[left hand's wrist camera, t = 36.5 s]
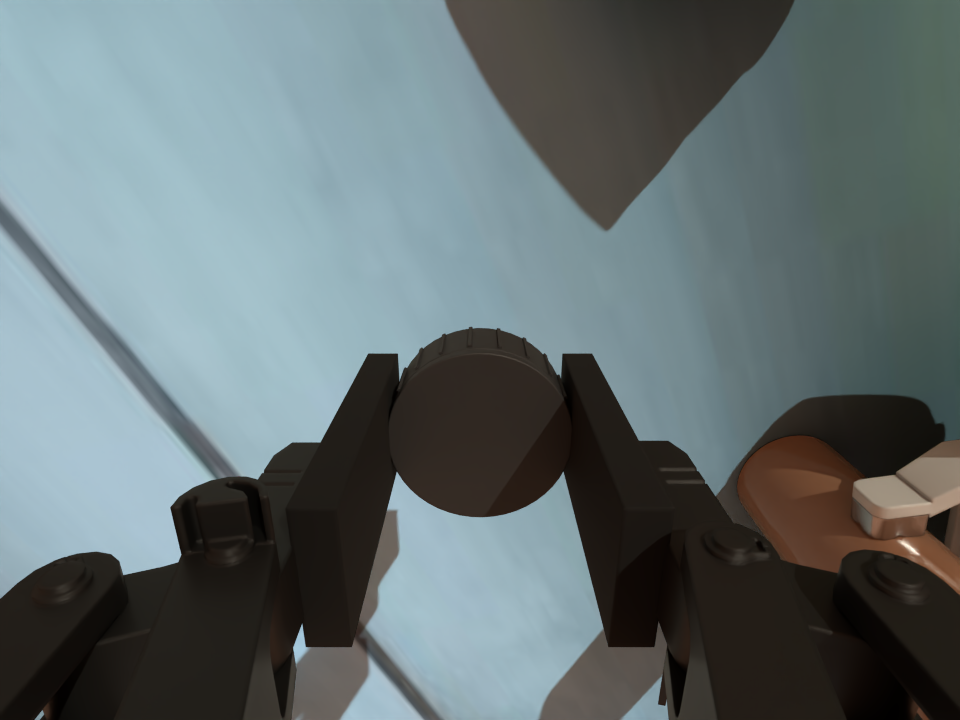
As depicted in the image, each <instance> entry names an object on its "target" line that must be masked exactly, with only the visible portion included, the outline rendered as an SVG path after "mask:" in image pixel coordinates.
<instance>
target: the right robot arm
mask: <svg viewBox="0 0 960 720" xmlns="http://www.w3.org/2000/svg"><path fill="white" fill-rule="evenodd" d="M949 508H950V514H949V519H948V524H947V530H946V535H945V540H944V545H945V546H946V547H947V548H949V549H950V550H951V551H952V552H953V553H954V554H956V555H957V556H958V557H959V558H960V439H959V440H952V441H945V442H941V443H940V444H938V445H937V446H935V447H934V448H932V449H931V450H929V451H927V452H926V453H924V454H923V455H921V456H920V457H918V458H917V459H915V460H914V461H912V462H911V463H909V464H908V465H906V466H905V467H903V468H901V469H900V470H898V471H897V472H896V475H890V476H882V477H875V478H867V479H860V480H857V481H855V482H854V484H853V492H852V505H851V515H850V517H851V518H852V519H853V520H854V521H855V522H856V523H860V525H861V527H862V529H863V530H864V531H865V532H866V533H867V534H868V535H869V536H871V537H873V538H875V539H880V540H890V539H895V538H897V537H898V536H900V535H901V536H903V537H917V536H924V535H925V531H926V526H927V521H928V517H932V516H934V515H936V514H938V513H941V512H943V511H945V510H947V509H949Z"/></svg>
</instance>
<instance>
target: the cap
mask: <svg viewBox="0 0 960 720" xmlns="http://www.w3.org/2000/svg"><path fill="white" fill-rule="evenodd" d="M397 391H398V392H397V395H396V398H395V401H394V404H393V407H392V410H391V414H390V417H389V421H388V426H389V442H390V456H391V459H392V462H393V464H394V466H395V468H396V470H397V472H398V474H399V475H400V477H401V478H402V480H403V481H404V482H405V484H406V485H407V486H408V487H409V488H410V489H411V490H412V491H413V492H414V493H415V494H416V495H418V496H419V497H420V498H421V499H423V500H424V501H426V502H427V503H429V504H431V505H433V506H435V507H437V508H439V509H441V510H444V511H447V512H449V513H453V514H457V515H462V516H469V517H491V516H498V515H503V514H507V513H511V512H514V511H517V510H519V509H521V508H524V507H526V506H528V505H529V504H531V503H533V502H535V501H536V500H538V499H539V498H540V497H542V496H543V495H544V494H545V493H546V492H547V491H548V490H549V489H550V488H551V487H553V485H554V484H555V483H556V482H557V480H558V479H559V478H560V476H561V474H562V473H563V471H564V469H565V467H566V465H567V463H568V460H569V458H570V448H571V433H572V420H571V415H570V412H569V409H568V406H567V403H566V400H565V399H568V398H567V395H566V392H565V389H564V386H563V384H562V381H561V378H560V375H557V374H556V372H555V371H554V369H553V367H552V365H551V364H550V363H549V361H548V358H547V355H546V354H545V353H544V354H542V353H541V352H540V351H539V350H538V349H537V348H535V347H534V346H533V345H532V344H530V343H529V342H527V341H526V338H524V337H523V338H520V337H518V336H515V335H513V334H511V333H507V332H504V331H501V330H500V329H499V328H497V330H495V329H486V328H474V329H472V327H469V329H465V330H460V331H456V332H453V333H450V334H447V335H446V334H443V335H442V337H441V338H439V339H437V340H435V341H433V342H432V343H430V344H429V345H427V346H426V347H425V348H424V349H423V348H421V349H420V350H419V353H418V354H417V355H416V357H415V358H414V359H413V360H412V361H411V363H410V364H409V366H408V368H406V367H405V368H404V370H403V373H402V376H401V379H400V382H399V385H398V388H397Z"/></svg>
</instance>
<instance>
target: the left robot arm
mask: <svg viewBox="0 0 960 720" xmlns="http://www.w3.org/2000/svg"><path fill="white" fill-rule="evenodd" d="M561 381H562V384H563V386H564V389H565V392H566V395H567V398H568V399H565V400H566V403H567V406H568V409H569V412H570V415H571V420H572V433H571V448H570V458H569V460H568V463H567V465H566V467H565V469H564V475H565V479H566V483H567V487H568V490H569V494H570V498H571V502H572V506H573V510H574V514H575V518H576V522H577V526H578V530H579V534H580V537H581V541H582V545H583V549H584V553H585V557H586V561H587V565H588V569H589V573H590V577H591V580H592V584H593V588H594V592H595V596H596V600H597V604H598V608H599V612H600V616H601V620H602V624H603V627H604V631H605V635H606V639H607V643H608V647H655V640H656V633H657V627H658V621H659V624H660V626H661V629H662V632H663V634H664V637H665V640H666V642H667V651H666V657H665V663H664V669H663V676H662V682H661V688H660V695H659V701H658V704H659V705H664V706H665V705H666V699H667V707H668V717H669V720H923V719H922V718H921V717H920V716H919V714H918V713H917V711H918V708H920V709H921V710H922V711H923V712H924V714H925V715H926V716H927V717H928V719H929V720H960V595H959V594H958V593H957V592H956V591H955V590H954V589H952V588H951V587H950V586H949V585H948V584H947V583H946V582H945V581H943V580H942V579H941V578H939V577H938V576H937V575H935V574H934V573H932V572H931V571H930V570H928V569H927V568H925V567H923V566H921V565H919V564H917V563H915V562H913V561H911V560H909V559H907V558H905V557H902V556H899V555H894V554H892V553H888V552H884V551H876V550H866V549H864V550H858V551H853V552H849V553H848V554H847V555H846V556H845V557H844V558H842V560H841V564H840V567H839V571H838V573H835V572H830V571H826V570H821V569H816V568H812V567H807V566H802V565H798V564H794V563H791V562H787V561H784V560H781V559H780V556H779V554H778V553H777V551H776V550H775V548H774V547H773V545H772V544H771V543H770V542H769V541H768V540H767V539H765V538H764V537H763V536H761V535H760V534H759V533H757V532H755V531H753V530H751V529H749V528H746V527H744V526H742V525H740V524H735V523H733V522H732V521H731V519H730V518H729V516H728V515H727V513H726V512H725V510H724V509H723V507H722V506H721V504H720V503H719V501H718V500H717V498H716V497H715V495H714V494H713V492H712V491H711V489H710V488H709V486H708V485H707V484H705V480H704V479H703V477H702V476H701V474H700V473H699V471H697V468H696V467H695V465H694V464H693V462H692V461H691V459H690V458H689V456H688V455H687V454H686V453H685V452H684V451H682V450H681V449H679V448H678V447H676V446H675V445H673V444H672V443H671V442H669V441H639V440H638V438H637V437H636V435H635V433H634V431H633V429H632V427H631V425H630V423H629V422H628V420H627V418H626V416H625V414H624V412H623V410H622V409H621V407H620V405H619V403H618V401H617V399H616V397H615V396H614V394H613V392H612V390H611V388H610V386H609V384H608V383H607V381H606V379H605V377H604V375H603V373H602V371H601V369H600V368H599V366H598V364H597V362H596V360H595V358H594V356H593V355H592V354H563V355H562V373H561ZM398 385H399V366H398V354H368V355H367V357H366V359H365V361H364V363H363V365H362V366H361V368H360V370H359V372H358V374H357V376H356V378H355V379H354V381H353V383H352V385H351V387H350V389H349V391H348V393H347V394H346V396H345V398H344V400H343V402H342V404H341V406H340V407H339V409H338V411H337V413H336V415H335V417H334V419H333V420H332V422H331V424H330V426H329V428H328V430H327V432H326V434H325V435H324V437H323V439H322V441H321V443H291V444H290V445H288V446H287V447H285V448H284V449H283V450H281V451H280V452H278V453H277V454H275V455H274V456H273V458H272V459H271V461H270V462H269V464H268V465H267V467H266V468H265V470H264V473H262V474H261V476H260V477H259V479H258V480H257V479H253V478H249V477H226V478H221V479H216V480H211V481H209V482H206V483H204V484H201V485H199V486H196V487H194V488H192V489H190V490H189V491H187V492H186V493H184V494H183V495H181V496H180V497H179V498H178V499H177V500H176V501H175V503H174V504H173V505H172V506H171V507H170V508H171V512H172V516H173V521H174V525H175V529H176V533H177V538H178V542H179V546H180V550H181V554H182V555H181V557H180V560H179V562H178V563H175V564H171V565H168V566H164V567H160V568H155V569H150V570H146V571H141V572H136V573H132V574H127V575H123V573H122V569H121V566H120V562H119V561H118V560H117V559H116V558H115V557H114V556H112V555H111V554H107V553H101V552H89V553H79V554H75V555H71V556H68V557H64V558H61V559H58V560H55V561H53V562H51V563H49V564H47V565H45V566H43V567H41V568H39V569H37V570H35V571H34V572H32V573H31V574H30V575H28V576H27V577H25V578H24V579H23V580H21V581H20V582H19V583H17V584H16V585H15V586H14V587H13V588H12V589H11V590H10V591H9V592H7V593H6V594H5V595H4V596H3V597H2V598H1V599H0V720H35V718H36V717H37V716H38V715H39V713H40V712H41V711H42V710H43V712H44V715H43V717H42V718H41V719H40V720H291V718H292V708H293V698H294V689H295V679H296V664H295V657H294V651H293V646H294V644H295V641H296V638H297V635H298V633H299V630H300V627H301V625H302V624H303V631H304V638H305V644H306V647H352V645H353V641H354V637H355V633H356V629H357V625H358V621H359V617H360V613H361V609H362V605H363V601H364V598H365V594H366V590H367V586H368V582H369V578H370V574H371V570H372V566H373V562H374V558H375V554H376V551H377V547H378V543H379V539H380V535H381V531H382V527H383V523H384V519H385V515H386V511H387V508H388V504H389V500H390V496H391V492H392V488H393V484H394V480H395V476H396V472H397V470H396V468H395V466H394V464H393V462H392V459H391V456H390V442H389V426H388V421H389V417H390V414H391V410H392V407H393V404H394V401H395V398H396V395H397V392H398V391H397V388H398Z"/></svg>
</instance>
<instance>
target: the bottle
mask: <svg viewBox="0 0 960 720" xmlns="http://www.w3.org/2000/svg"><path fill="white" fill-rule="evenodd" d="M860 479H867V477H865V476H864V475H863V474H862V473H861V472H860V471H859V470H857V469H856V468H855V467H854V466H853V465H852V464H850V463H849V462H848V461H847V460H846V459H845V458H843V457H842V456H841V455H840V454H839V453H838V452H837V451H835V450H834V449H833V448H832V447H831V446H830V445H828V444H827V443H825V442H824V441H822V440H820V439H817V438H814V437H810V436H799V435H797V436H788V437H783V438H780V439H777V440H774V441H772V442H770V443H768V444H766V445H764V446H763V447H761V448H760V449H759V450H757V451H756V452H755V453H754V454H753V455H752V456H751V457H750V458H749V459H748V460H747V462H746V463H745V464H744V466H743V468H742V470H741V472H740V475H739V478H738V484H737V491H738V496H739V499H740V502H741V504H742V505H743V507H744V508H745V510H746V511H747V512H748V514H749V515H750V517H751V518H752V519H753V521H754V522H755V523H756V525H757V526H758V528H759V529H760V530H761V532H762V533H763V534H764V536H765V537H766V539H767V540H768V541H769V542H770V543H771V544H772V545H773V547H774V548H775V550H776V551H777V553H778V554H779V556H780V558H781V559H782V560H784V561H787V562H791V563H794V564H798V565H802V566H807V567H812V568H816V569H821V570H826V571H830V572H835V573H838V571H839V567H840V564H841V560H842V558H844V557H845V556H846V555H847V554H848V553H849V552H853V551H858V550H864V549H866V550H876V551H884V552H888V553H892V554H894V555H899V556H902V557H905V558H907V559H909V560H911V561H913V562H915V563H917V564H919V565H921V566H923V567H925V568H927V569H928V570H930V571H931V572H932V573H934V574H935V575H937V576H938V577H939V578H941V579H942V580H943V581H945V582H946V583H947V584H948V585H949V586H950V587H951V588H952V589H954V590H955V591H956V592H957V593H958V594H959V595H960V558H959V557H958V556H957V555H956V554H954V553H953V552H952V551H951V550H950V549H949V548H947V547H946V546H945V545H944V544H943V543H942V542H941V541H939V540H938V539H937V538H936V537H935V536H934V535H932V534H931V533H930V532H929V531H928V530H927V529H926V531H925V535H924V536H917V537H903V536H901V535H900V536H898V537H897V538H895V539H890V540H880V539H875V538H873V537H871V536H869V535H868V534H867V533H866V532H865V531H864V530H863V529H862V527H861V525H860V523H856V522H855V521H854V520H853V519H852V518H851V517H850V515H851V505H852V492H853V484H854V482H855V481H857V480H860ZM917 713H918V714H919V716H920V717H921V718H922V719H923V720H929V719H928V717H927V716H926V715H925V714H924V712H923V711H922V710H921V709H920V708H918V711H917Z"/></svg>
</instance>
